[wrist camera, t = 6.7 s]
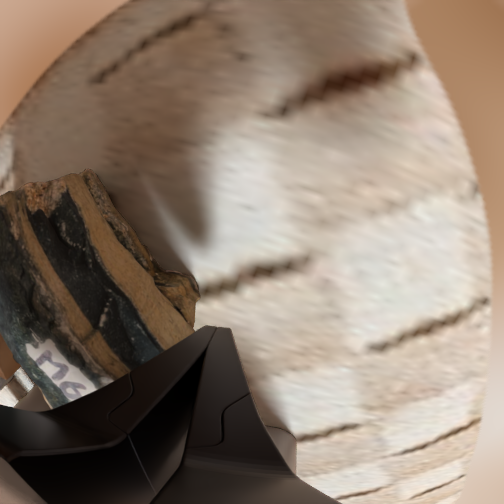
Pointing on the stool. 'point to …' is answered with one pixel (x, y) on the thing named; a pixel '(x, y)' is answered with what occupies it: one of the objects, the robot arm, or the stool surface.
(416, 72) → the stool surface
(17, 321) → the rock
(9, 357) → the bar
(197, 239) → the stool surface
